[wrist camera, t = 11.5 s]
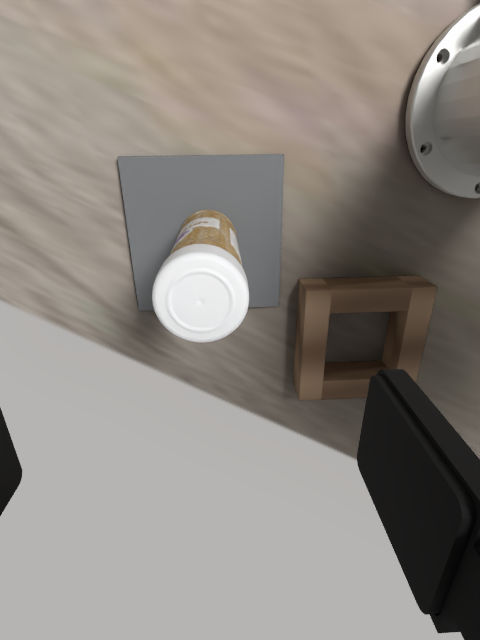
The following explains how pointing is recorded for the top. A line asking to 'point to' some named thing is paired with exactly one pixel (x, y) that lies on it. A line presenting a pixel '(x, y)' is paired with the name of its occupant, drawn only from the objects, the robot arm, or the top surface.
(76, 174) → the top surface
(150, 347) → the top surface
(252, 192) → the charcoal mat
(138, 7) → the top surface
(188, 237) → the sprinkles bottle
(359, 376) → the walnut caddy
